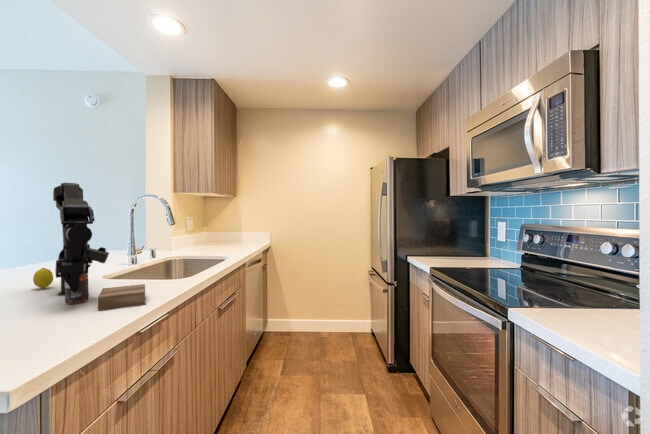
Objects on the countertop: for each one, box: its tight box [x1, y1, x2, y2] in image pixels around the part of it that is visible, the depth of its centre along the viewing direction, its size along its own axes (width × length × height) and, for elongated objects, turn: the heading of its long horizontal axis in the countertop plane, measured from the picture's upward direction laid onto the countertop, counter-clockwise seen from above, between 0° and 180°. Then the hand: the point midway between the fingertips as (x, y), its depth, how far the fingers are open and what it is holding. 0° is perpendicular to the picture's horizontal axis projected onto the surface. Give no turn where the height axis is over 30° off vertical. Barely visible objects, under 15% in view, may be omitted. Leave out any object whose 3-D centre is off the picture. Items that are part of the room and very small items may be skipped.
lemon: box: [32, 267, 54, 290], centre depth 114 cm, size 6×6×8 cm
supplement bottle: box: [64, 272, 90, 305], centre depth 98 cm, size 6×6×11 cm
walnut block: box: [97, 283, 146, 312], centre depth 98 cm, size 12×12×4 cm
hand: (76, 289), depth 98 cm, fingers closed on supplement bottle, 6 cm apart
